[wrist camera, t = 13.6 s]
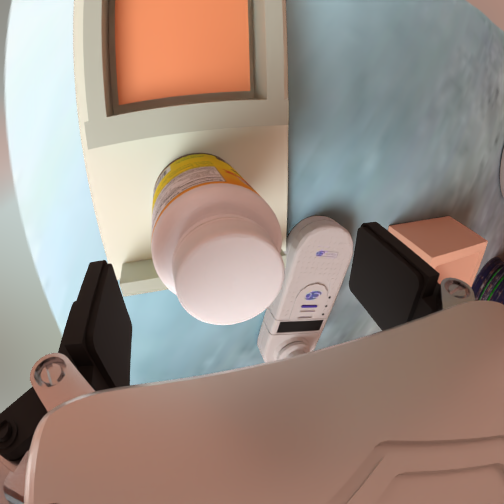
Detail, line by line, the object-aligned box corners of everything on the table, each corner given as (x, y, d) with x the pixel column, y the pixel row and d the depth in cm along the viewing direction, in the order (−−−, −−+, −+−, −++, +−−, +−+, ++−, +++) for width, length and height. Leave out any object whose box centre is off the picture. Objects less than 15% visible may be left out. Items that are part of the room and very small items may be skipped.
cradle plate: (242, -16, 13) (246, -21, 12) (245, 91, 17) (250, 90, 16) (117, -8, 11) (115, -12, 10) (121, 104, 15) (118, 105, 14)
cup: (449, 216, 28) (487, 241, 23) (428, 285, 33) (459, 314, 28) (388, 225, 26) (432, 257, 21) (371, 305, 31) (402, 341, 26)
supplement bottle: (245, 217, 21) (310, 314, 12) (167, 241, 20) (182, 357, 12) (229, 139, 18) (298, 189, 9) (142, 164, 17) (125, 241, 9)
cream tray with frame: (279, -30, 13) (299, -46, 11) (282, 246, 24) (299, 268, 21) (78, -15, 10) (65, -32, 8) (114, 274, 21) (110, 301, 18)
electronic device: (423, 275, 17) (338, 421, 23) (345, 217, 25) (297, 349, 31) (362, 274, 15) (283, 434, 21) (290, 209, 23) (250, 353, 29)
